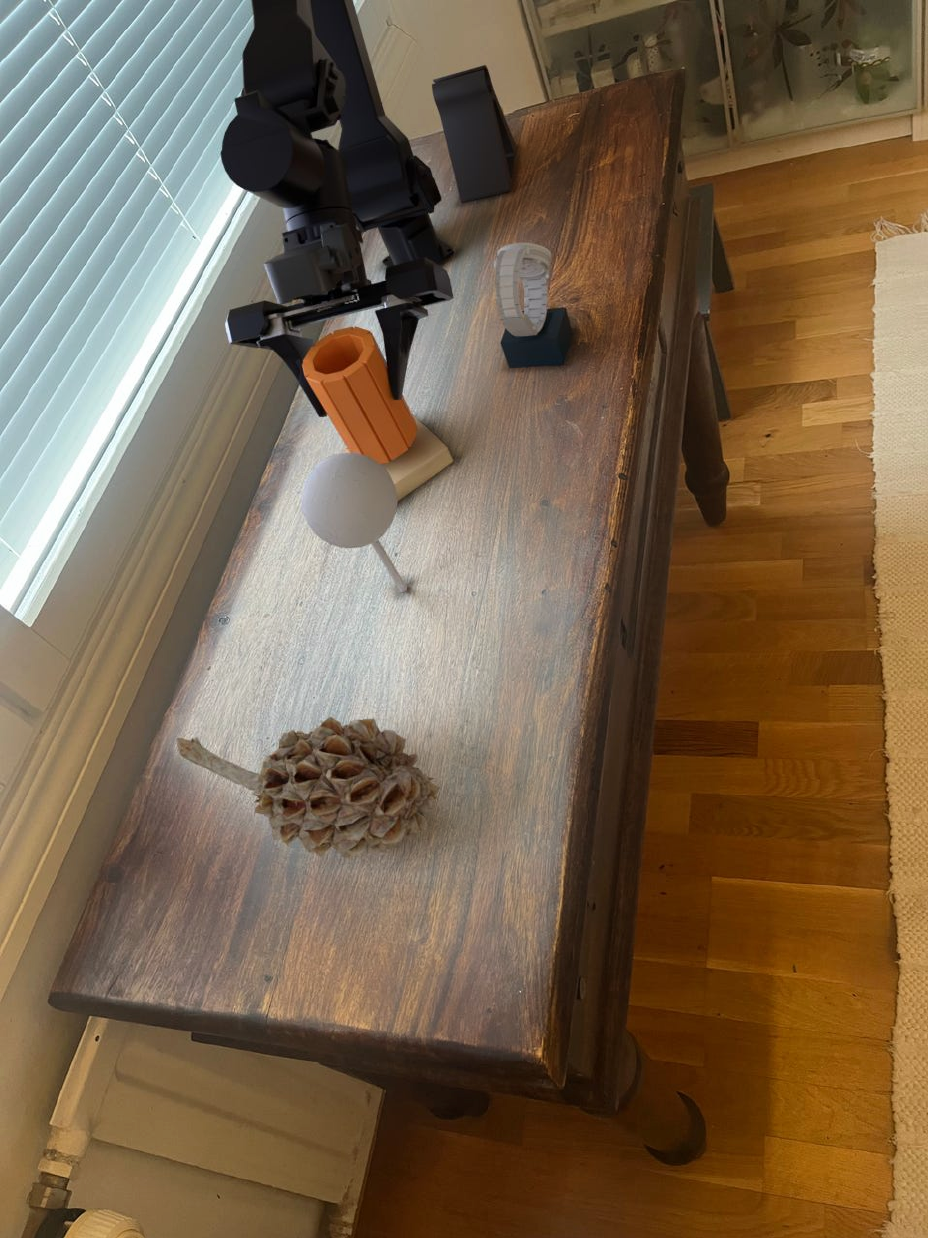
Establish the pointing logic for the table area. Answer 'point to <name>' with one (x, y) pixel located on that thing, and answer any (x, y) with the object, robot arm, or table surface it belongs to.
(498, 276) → the watch
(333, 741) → the pine cone
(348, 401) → the orange fluted tube
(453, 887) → the table surface
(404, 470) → the peg on block
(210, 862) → the table surface
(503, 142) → the phone stand
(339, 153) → the robot arm
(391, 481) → the lollipop
